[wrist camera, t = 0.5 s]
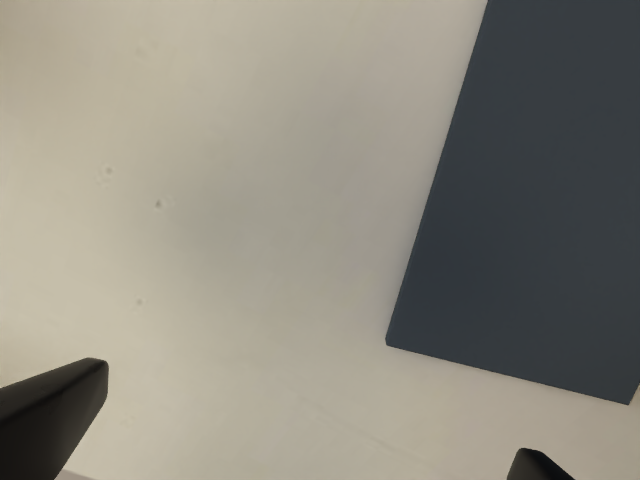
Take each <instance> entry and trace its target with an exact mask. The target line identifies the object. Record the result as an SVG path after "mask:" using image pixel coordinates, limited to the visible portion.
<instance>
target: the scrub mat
mask: <svg viewBox="0 0 640 480" xmlns="http://www.w3.org/2000/svg"><path fill="white" fill-rule="evenodd" d="M385 340H386V344H387V346H391V347H395V348H399V349H403V350H407V351H411V352H415V353H419V354H423V355H427V356H431V357H436V358H440V359H444V360H448V361H452V362H456V363H460V364H464V365H468V366H472V367H476V368H480V369H484V370H488V371H492V372H496V373H500V374H504V375H508V376H512V377H516V378H521V379H525V380H529V381H533V382H537V383H541V384H545V385H549V386H553V387H557V388H561V389H565V390H569V391H573V392H577V393H581V394H585V395H589V396H593V397H597V398H601V399H605V400H610V401H614V402H618V403H622V404H626V405H629V403H630V401H631V399H632V397H633V395H634V393H635V391H636V389H637V387H638V385H639V383H640V0H488V4H487V7H486V10H485V13H484V17H483V20H482V23H481V26H480V30H479V33H478V36H477V40H476V43H475V46H474V49H473V53H472V56H471V59H470V63H469V66H468V69H467V72H466V76H465V79H464V82H463V85H462V89H461V92H460V95H459V99H458V102H457V105H456V108H455V112H454V115H453V118H452V122H451V125H450V128H449V131H448V135H447V138H446V141H445V145H444V148H443V151H442V154H441V158H440V161H439V164H438V167H437V171H436V174H435V177H434V181H433V184H432V187H431V190H430V194H429V197H428V200H427V204H426V207H425V210H424V213H423V217H422V220H421V223H420V226H419V230H418V233H417V236H416V240H415V243H414V246H413V249H412V253H411V256H410V259H409V263H408V266H407V269H406V272H405V276H404V279H403V282H402V286H401V289H400V292H399V295H398V299H397V302H396V305H395V308H394V312H393V315H392V318H391V322H390V325H389V328H388V331H387V335H386V338H385Z"/></svg>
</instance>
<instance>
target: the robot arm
mask: <svg viewBox="0 0 640 480" xmlns="http://www.w3.org/2000/svg"><path fill="white" fill-rule="evenodd" d="M108 372H109V366H108V363H107V362H106V361H104V360H100V359H95V358H85V359H82V360H79V361H76V362H73V363H71V364H68V365H65V366H62V367H59V368H56V369H54V370H51V371H48V372H45V373H42V374H40V375H37V376H34V377H31V378H28V379H26V380H23V381H20V382H17V383H14V384H11V385H9V386H6V387H3V388H0V480H54V479H55V478H56V476H57V475H58V474H59V472H60V471H61V469H62V468H63V466H64V465H65V463H66V462H67V461H68V459H69V457H70V456H71V454H72V453H73V451H74V450H75V448H76V447H77V445H78V443H79V442H80V440H81V439H82V437H83V436H84V434H85V433H86V431H87V429H88V428H89V426H90V425H91V423H92V422H93V420H94V419H95V417H96V415H97V414H98V412H99V411H100V409H101V408H102V406H103V404H104V402H105V400H106V398H107V393H108ZM507 480H575V479H574V478H572V477H571V476H570V475H569V474H568V473H566V472H565V471H564V470H563V469H562V468H560V467H559V466H558V465H557V464H556V463H555V462H553V461H552V460H551V459H550V458H549V457H547V456H546V455H545V454H544V453H542V452H540V451H537V450H532V449H527V448H521V449H519V450H518V451H517V453H516V456H515V458H514V461H513V463H512V466H511V468H510V471H509V473H508V476H507Z"/></svg>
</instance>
